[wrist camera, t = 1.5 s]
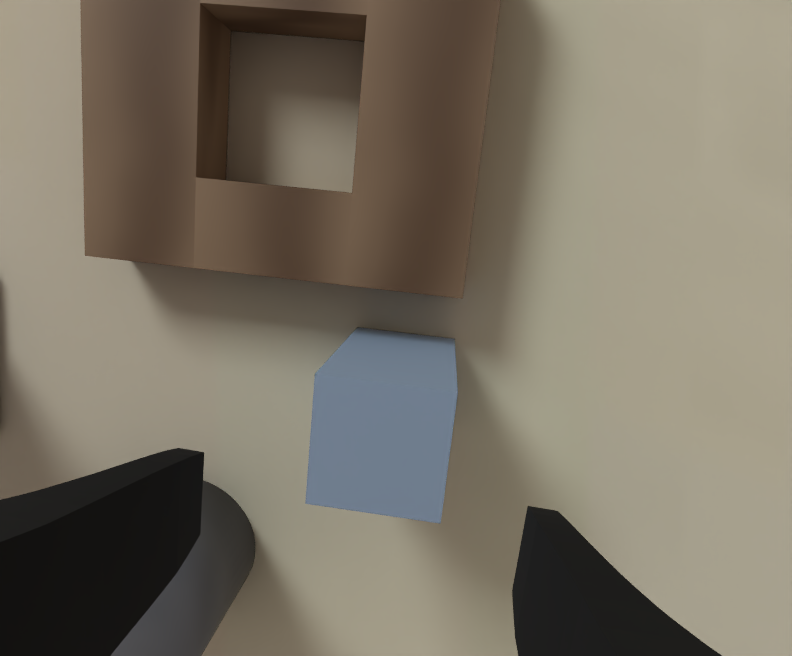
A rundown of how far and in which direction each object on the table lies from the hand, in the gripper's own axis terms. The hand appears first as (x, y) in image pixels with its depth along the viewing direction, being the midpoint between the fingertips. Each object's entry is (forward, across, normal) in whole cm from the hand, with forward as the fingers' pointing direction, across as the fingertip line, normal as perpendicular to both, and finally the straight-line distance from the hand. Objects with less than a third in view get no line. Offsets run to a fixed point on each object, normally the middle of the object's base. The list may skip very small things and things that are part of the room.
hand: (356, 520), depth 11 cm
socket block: (+10, +5, -10) cm, 15 cm away
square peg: (+11, 0, 0) cm, 11 cm away
